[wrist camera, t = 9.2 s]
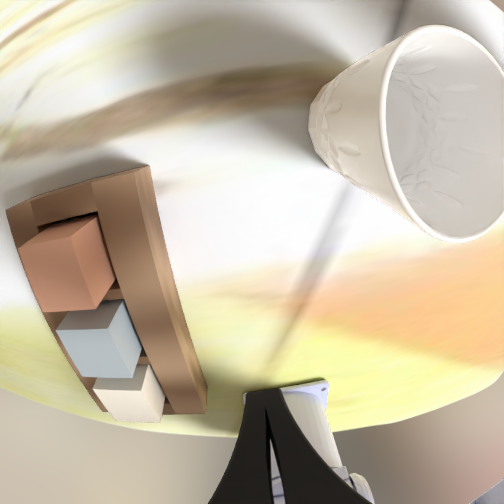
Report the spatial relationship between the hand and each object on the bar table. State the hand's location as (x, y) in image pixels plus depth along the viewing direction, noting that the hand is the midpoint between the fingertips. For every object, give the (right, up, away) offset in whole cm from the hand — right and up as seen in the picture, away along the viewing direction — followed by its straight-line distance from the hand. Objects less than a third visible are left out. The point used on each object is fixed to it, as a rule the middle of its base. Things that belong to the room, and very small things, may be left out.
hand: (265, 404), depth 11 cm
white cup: (+6, +14, +6) cm, 16 cm away
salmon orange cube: (-11, +6, +5) cm, 14 cm away
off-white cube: (-10, -3, +10) cm, 14 cm away
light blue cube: (-10, +1, +8) cm, 13 cm away
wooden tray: (-11, +2, +9) cm, 14 cm away
